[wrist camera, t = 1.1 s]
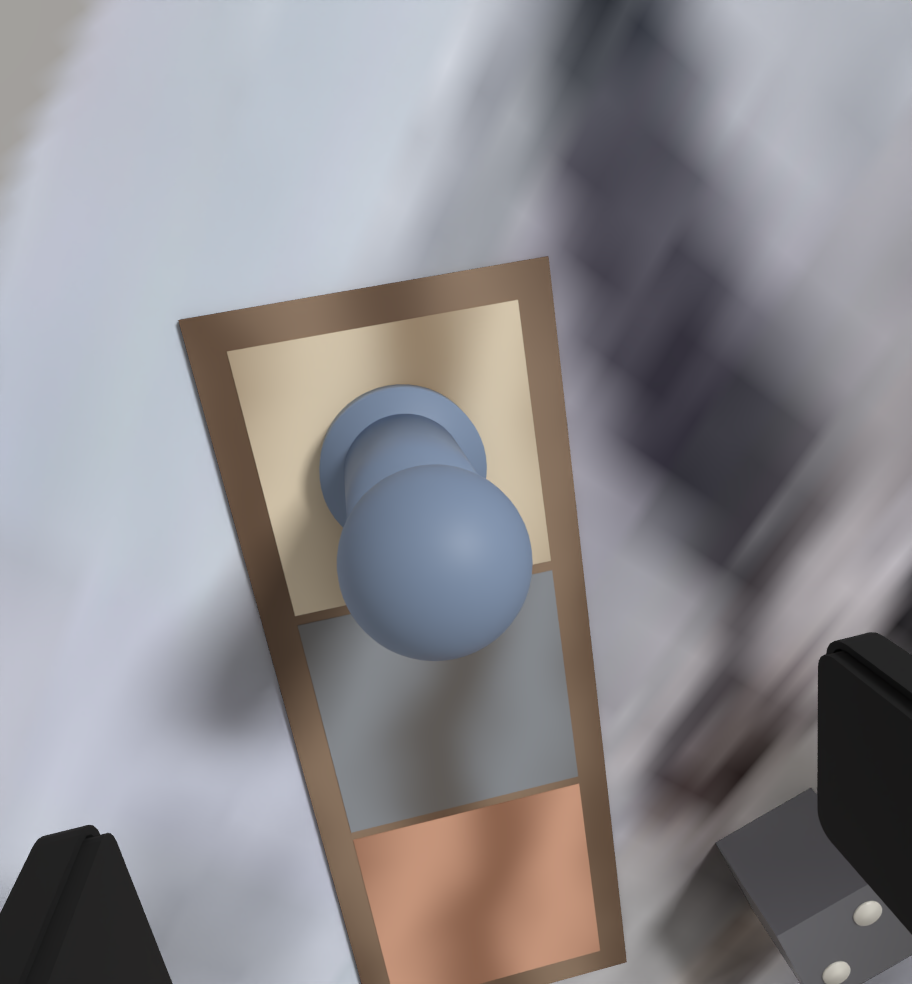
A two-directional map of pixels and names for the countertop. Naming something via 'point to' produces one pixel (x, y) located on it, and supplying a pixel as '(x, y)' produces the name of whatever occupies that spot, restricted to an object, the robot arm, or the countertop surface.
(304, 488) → the board
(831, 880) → the die
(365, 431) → the pawn
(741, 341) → the countertop surface
